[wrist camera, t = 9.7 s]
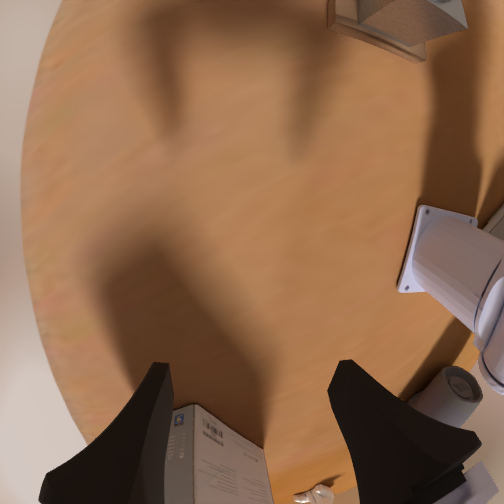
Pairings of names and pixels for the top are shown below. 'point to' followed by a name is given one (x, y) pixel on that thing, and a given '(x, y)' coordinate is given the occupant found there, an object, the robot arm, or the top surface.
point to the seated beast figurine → (316, 495)
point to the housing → (412, 19)
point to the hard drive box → (212, 463)
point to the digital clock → (496, 224)
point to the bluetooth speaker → (449, 397)
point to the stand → (367, 31)
